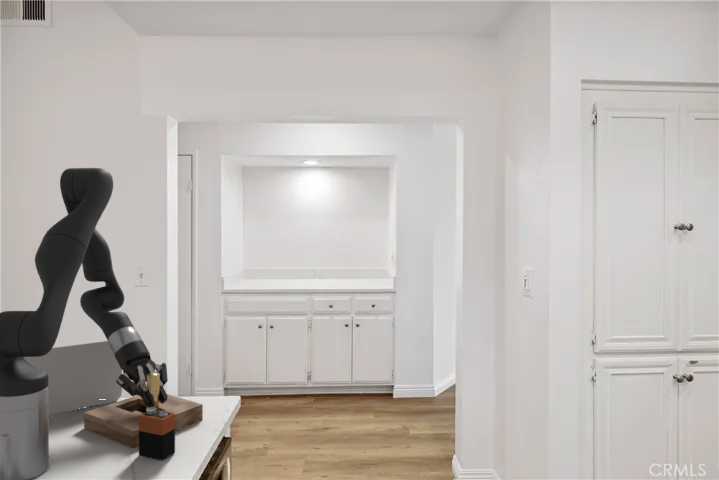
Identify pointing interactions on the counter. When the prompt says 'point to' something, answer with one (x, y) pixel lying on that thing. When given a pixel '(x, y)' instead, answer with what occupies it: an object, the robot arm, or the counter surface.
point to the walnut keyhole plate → (137, 417)
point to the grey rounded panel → (79, 374)
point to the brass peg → (154, 387)
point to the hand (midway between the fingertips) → (158, 403)
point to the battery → (156, 434)
